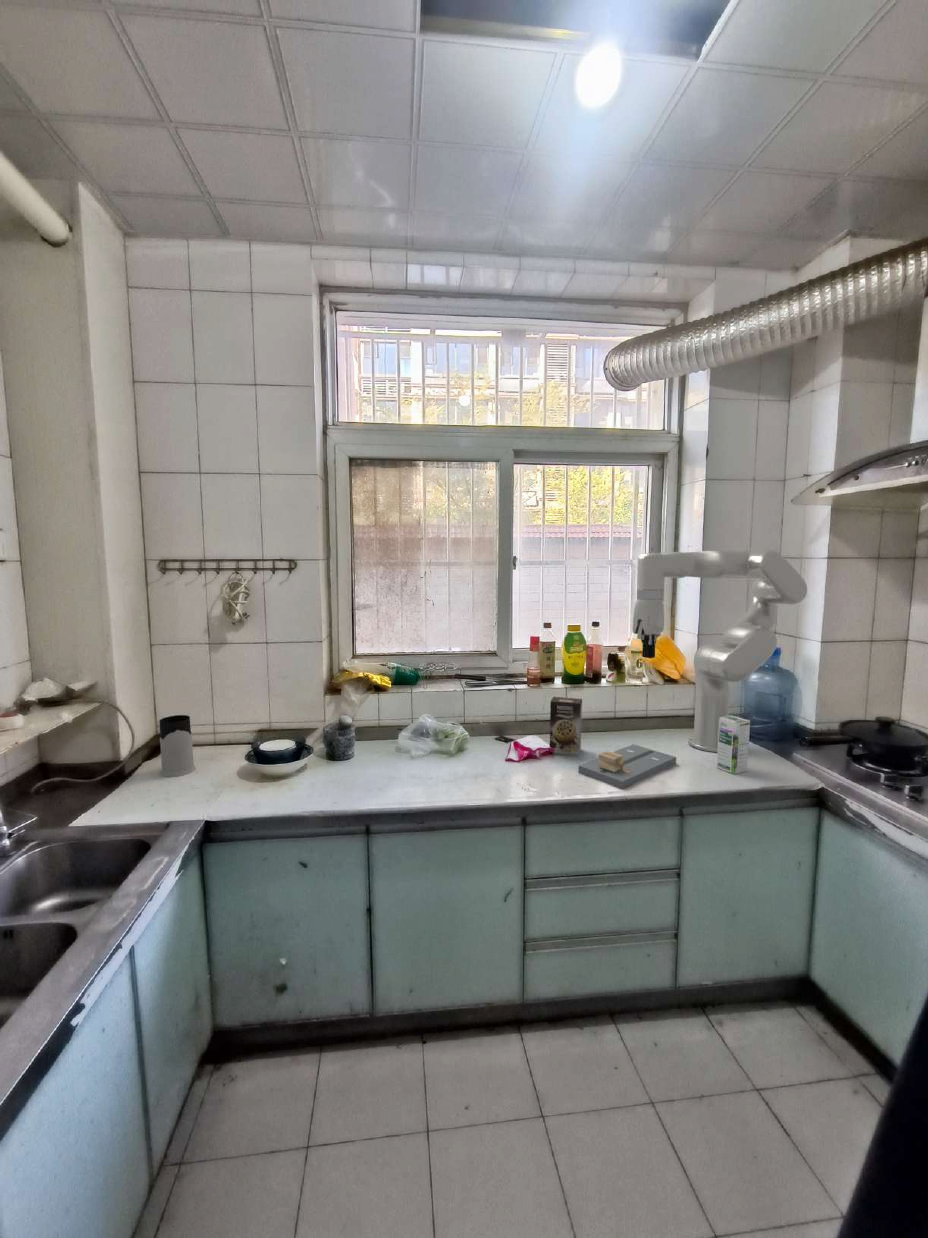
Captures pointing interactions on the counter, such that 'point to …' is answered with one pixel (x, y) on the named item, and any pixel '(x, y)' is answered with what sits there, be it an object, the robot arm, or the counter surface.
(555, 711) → the cookie box
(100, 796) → the counter surface
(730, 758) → the syrup box
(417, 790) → the counter surface
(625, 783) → the board
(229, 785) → the counter surface
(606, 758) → the block
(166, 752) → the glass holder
